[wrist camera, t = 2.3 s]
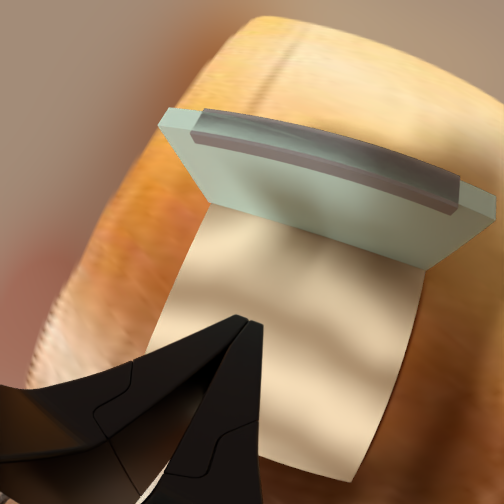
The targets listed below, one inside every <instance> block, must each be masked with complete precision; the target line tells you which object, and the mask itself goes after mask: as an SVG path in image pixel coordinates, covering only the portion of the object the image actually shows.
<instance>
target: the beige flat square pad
mask: <svg viewBox="0 0 504 504" xmlns="http://www.w3.org/2000/svg"><path fill="white" fill-rule="evenodd" d="M425 271H426V270H423V269H420V268H417V267H414V266H411V265H408V264H406V263H403V262H400V261H397V260H394V259H391V258H388V257H385V256H382V255H379V254H376V253H373V252H370V251H367V250H364V249H361V248H358V247H355V246H352V245H349V244H346V243H343V242H340V241H336V240H333V239H330V238H327V237H324V236H321V235H318V234H314V233H311V232H308V231H305V230H302V229H298V228H295V227H292V226H289V225H285V224H282V223H279V222H275V221H272V220H269V219H265V218H262V217H259V216H255V215H252V214H249V213H245V212H242V211H238V210H235V209H231V208H228V207H224V206H221V205H217V204H214V203H211V205H210V207H209V209H208V211H207V213H206V215H205V217H204V219H203V221H202V223H201V226H200V228H199V230H198V232H197V234H196V236H195V238H194V241H193V243H192V245H191V247H190V249H189V251H188V254H187V256H186V258H185V260H184V262H183V265H182V267H181V269H180V271H179V274H178V276H177V278H176V280H175V283H174V285H173V287H172V290H171V292H170V294H169V297H168V299H167V301H166V304H165V306H164V308H163V311H162V313H161V315H160V318H159V320H158V323H157V325H156V328H155V330H154V332H153V335H152V337H151V340H150V342H149V345H148V347H147V350H146V352H145V354H148V353H150V352H152V351H155V350H157V349H159V348H162V347H164V346H166V345H168V344H171V343H173V342H175V341H177V340H180V339H182V338H184V337H186V336H189V335H191V334H193V333H195V332H197V331H200V330H202V329H204V328H206V327H208V326H211V325H213V324H215V323H217V322H219V321H221V320H223V319H226V318H228V317H230V316H232V315H234V314H238V315H240V316H243V317H246V318H248V319H249V321H250V320H254V321H256V322H259V323H262V324H263V325H264V337H263V359H262V379H261V399H260V417H259V443H258V455H259V456H262V457H265V458H268V459H270V460H273V461H276V462H279V463H282V464H285V465H288V466H291V467H294V468H298V469H301V470H304V471H308V472H311V473H315V474H318V475H322V476H326V477H329V478H333V479H337V480H342V481H346V482H350V483H351V481H352V479H353V478H354V476H355V474H356V472H357V470H358V468H359V466H360V464H361V462H362V460H363V458H364V456H365V454H366V452H367V449H368V447H369V445H370V443H371V441H372V439H373V436H374V434H375V432H376V430H377V427H378V425H379V423H380V420H381V418H382V415H383V413H384V410H385V408H386V405H387V403H388V400H389V398H390V395H391V392H392V389H393V387H394V384H395V381H396V378H397V375H398V372H399V370H400V367H401V363H402V360H403V357H404V354H405V351H406V348H407V344H408V341H409V337H410V334H411V330H412V327H413V323H414V319H415V315H416V311H417V307H418V303H419V299H420V295H421V290H422V286H423V281H424V276H425Z"/></svg>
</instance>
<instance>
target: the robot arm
mask: <svg viewBox="0 0 504 504" xmlns="http://www.w3.org/2000/svg"><path fill="white" fill-rule="evenodd" d="M263 337H264V325H263V324H262V323H259V322H256V321H254V320H250V321H249V319H248V318H246V317H243V316H240V315H238V314H234V315H232V316H230V317H228V318H226V319H223V320H221V321H219V322H217V323H215V324H213V325H211V326H208V327H206V328H204V329H202V330H200V331H197V332H195V333H193V334H191V335H189V336H186V337H184V338H182V339H180V340H177V341H175V342H173V343H171V344H168V345H166V346H164V347H162V348H159V349H157V350H155V351H152V352H150V353H148V354H145V355H143V356H141V357H138V358H136V359H134V360H133V361H128V362H126V363H124V364H121V365H119V366H116V367H114V368H111V369H108V370H106V371H103V372H100V373H97V374H93V375H90V376H87V377H83V378H80V379H76V380H72V381H68V382H64V383H61V384H57V385H53V386H48V387H44V388H39V389H17V388H12V387H8V386H4V385H0V504H135V503H136V502H137V501H138V500H139V498H140V496H142V495H143V493H144V492H145V491H146V490H147V488H148V487H149V486H150V485H151V483H152V482H153V481H154V480H155V478H156V477H157V476H158V475H159V473H160V472H161V471H162V469H163V468H164V467H165V466H166V464H167V463H168V462H169V463H168V465H167V467H166V469H165V470H164V474H163V475H162V476H161V478H160V480H159V481H158V483H157V485H156V486H155V488H154V489H153V491H152V492H151V493H150V494H149V496H148V497H147V498H146V499H145V500H144V501H143V502H142V503H141V504H263V498H262V489H261V480H260V470H259V456H258V443H259V417H260V399H261V379H262V359H263ZM169 460H170V461H169Z"/></svg>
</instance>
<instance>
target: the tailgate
mask: <svg viewBox="0 0 504 504" xmlns="http://www.w3.org/2000/svg"><path fill="white" fill-rule="evenodd" d="M158 127H159V128H160V130H161V131H162V133H163V134H164V136H165V137H166V139H167V140H168V142H169V143H170V145H171V146H172V148H173V149H174V151H175V152H176V154H177V155H178V157H179V158H180V160H181V161H182V163H183V164H184V166H185V167H186V169H187V170H188V172H189V173H190V175H191V176H192V178H193V179H194V181H195V182H196V184H197V185H198V187H199V188H200V190H201V191H202V193H203V194H204V196H205V197H206V199H207V200H208V202H210V203H214V204H217V205H221V206H224V207H228V208H231V209H235V210H238V211H242V212H245V213H249V214H252V215H255V216H259V217H262V218H265V219H269V220H272V221H275V222H279V223H282V224H285V225H289V226H292V227H295V228H298V229H302V230H305V231H308V232H311V233H314V234H318V235H321V236H324V237H327V238H330V239H333V240H336V241H340V242H343V243H346V244H349V245H352V246H355V247H358V248H361V249H364V250H367V251H370V252H373V253H376V254H379V255H382V256H385V257H388V258H391V259H394V260H397V261H400V262H403V263H406V264H408V265H411V266H414V267H417V268H420V269H423V270H426V271H427V270H428V269H430V268H431V267H433V266H434V265H436V264H437V263H438V262H440V261H441V260H443V259H444V258H446V257H447V256H449V255H450V254H451V253H453V252H454V251H456V250H457V249H458V248H460V247H461V246H463V245H464V244H465V243H467V242H468V241H469V240H471V239H472V238H473V237H475V236H476V235H477V234H479V233H480V232H481V231H483V230H484V229H485V228H487V227H488V226H489V225H490V224H492V223H493V222H494V221H495V220H496V196H495V195H492V194H490V193H488V192H486V191H484V190H482V189H480V188H477V187H475V186H473V185H471V184H468V183H466V182H464V181H461V180H460V176H459V175H456V174H454V173H451V172H449V171H446V170H444V169H441V168H439V167H436V166H434V165H431V164H429V163H426V162H423V161H421V160H418V159H415V158H412V157H409V156H407V155H404V154H401V153H398V152H395V151H392V150H389V149H386V148H383V147H379V146H376V145H373V144H370V143H366V142H363V141H360V140H356V139H353V138H349V137H346V136H342V135H338V134H334V133H331V132H327V131H323V130H319V129H315V128H310V127H306V126H302V125H297V124H293V123H288V122H283V121H278V120H273V119H268V118H263V117H258V116H252V115H246V114H240V113H234V112H227V111H220V110H213V109H206V108H204V110H203V111H196V110H188V109H178V108H168V110H167V112H166V113H165V115H164V116H163V118H162V119H161V121H160V122H159V124H158Z"/></svg>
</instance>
